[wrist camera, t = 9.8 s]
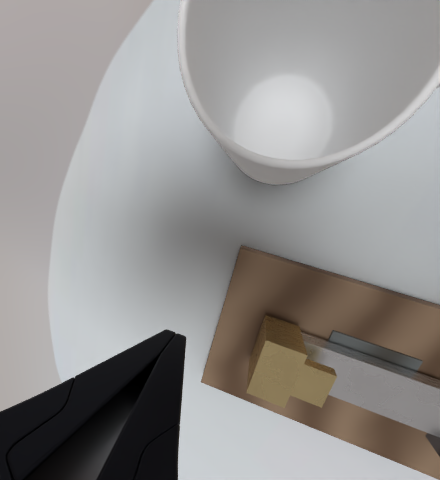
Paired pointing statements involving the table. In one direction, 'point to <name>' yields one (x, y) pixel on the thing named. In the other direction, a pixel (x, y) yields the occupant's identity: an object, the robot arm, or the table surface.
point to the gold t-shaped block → (286, 367)
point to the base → (336, 331)
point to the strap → (379, 385)
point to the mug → (306, 77)
